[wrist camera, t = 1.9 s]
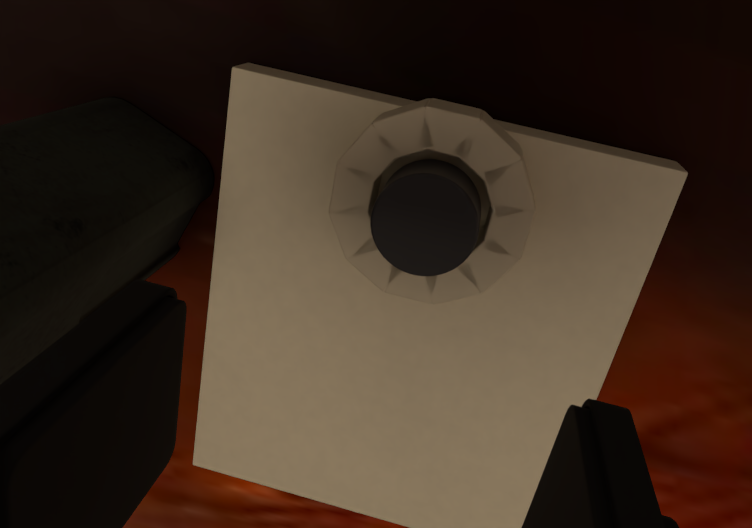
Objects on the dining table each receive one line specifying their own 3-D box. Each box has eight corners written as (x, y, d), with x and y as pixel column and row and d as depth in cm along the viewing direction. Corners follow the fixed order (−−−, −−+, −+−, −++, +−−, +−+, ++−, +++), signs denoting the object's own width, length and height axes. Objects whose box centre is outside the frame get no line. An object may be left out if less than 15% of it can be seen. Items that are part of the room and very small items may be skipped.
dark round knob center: (391, 147, 19) (381, 161, 17) (493, 172, 19) (491, 188, 17) (372, 241, 20) (360, 262, 19) (467, 265, 20) (463, 288, 18)
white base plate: (249, 48, 21) (211, 56, 19) (682, 147, 20) (711, 171, 17) (206, 443, 28) (174, 492, 25) (529, 536, 27) (532, 597, 24)
